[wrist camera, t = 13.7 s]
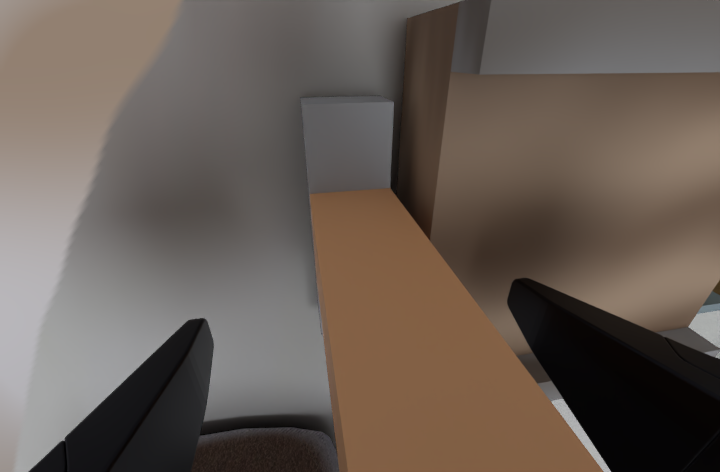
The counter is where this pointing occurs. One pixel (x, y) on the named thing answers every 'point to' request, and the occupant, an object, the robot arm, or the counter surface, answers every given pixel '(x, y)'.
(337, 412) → the brown and grey block
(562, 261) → the railed tan board
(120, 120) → the counter surface
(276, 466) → the dark brown rounded block
